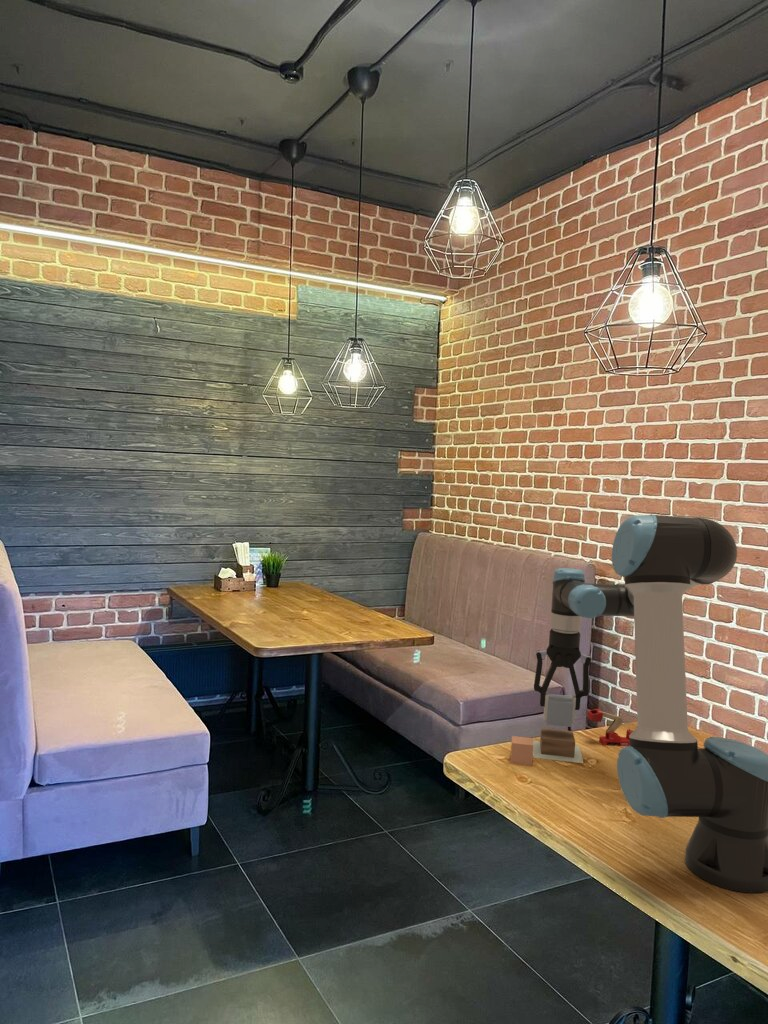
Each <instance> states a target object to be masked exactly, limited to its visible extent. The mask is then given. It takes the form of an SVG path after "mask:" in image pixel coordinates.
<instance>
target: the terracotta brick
mask: <svg viewBox="0 0 768 1024" xmlns="http://www.w3.org/2000/svg"><path fill="white" fill-rule="evenodd" d="M533 741H534V738H531V737H525V736H515V735H512V736H511V749H510V750H511V751H510V764H513V765H522V766H533Z"/></svg>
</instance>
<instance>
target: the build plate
mask: <svg viewBox="0 0 768 1024" xmlns="http://www.w3.org/2000/svg"><path fill="white" fill-rule="evenodd" d="M580 747H581V746H580V745H575V754H574V758H572V757H563V756H554V755H546V754H541V747H540V741H538V740H533V757H532V759H533V758H535V759H544V760H551V761H560V762H568V763H576V764H584V759H583V755H582V752H581V748H580Z"/></svg>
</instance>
